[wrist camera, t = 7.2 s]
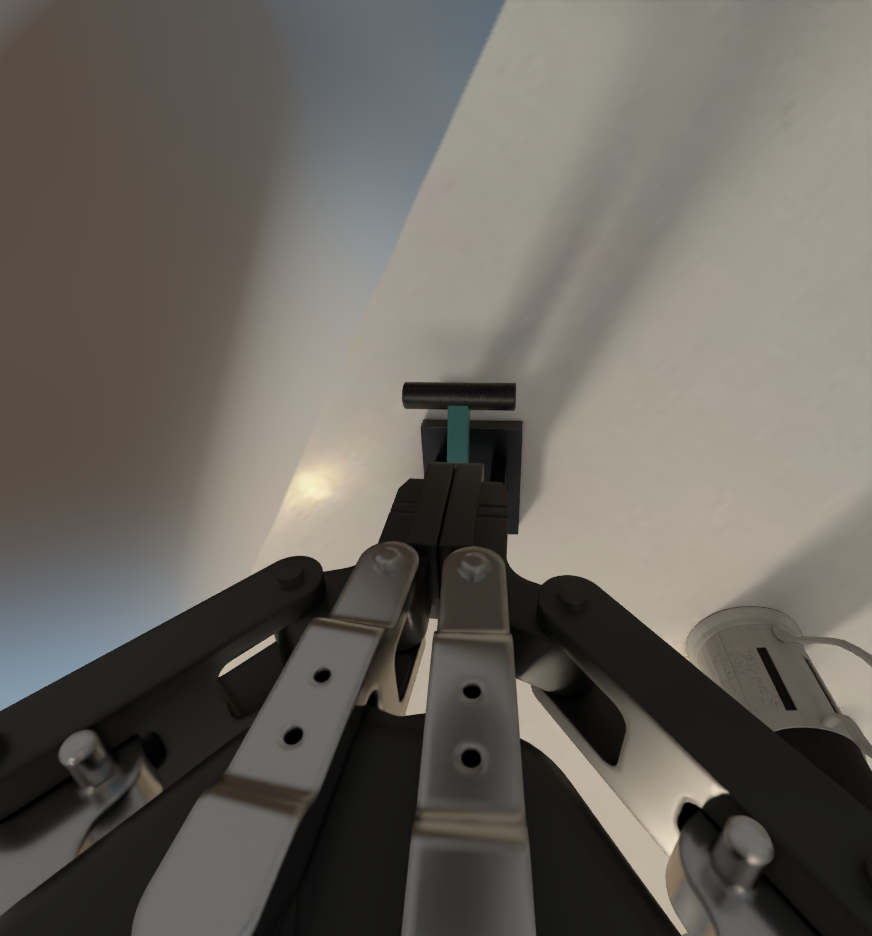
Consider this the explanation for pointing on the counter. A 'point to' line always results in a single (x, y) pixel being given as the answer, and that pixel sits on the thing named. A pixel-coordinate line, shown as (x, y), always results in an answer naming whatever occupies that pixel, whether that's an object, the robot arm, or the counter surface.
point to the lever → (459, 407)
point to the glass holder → (784, 689)
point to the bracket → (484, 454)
